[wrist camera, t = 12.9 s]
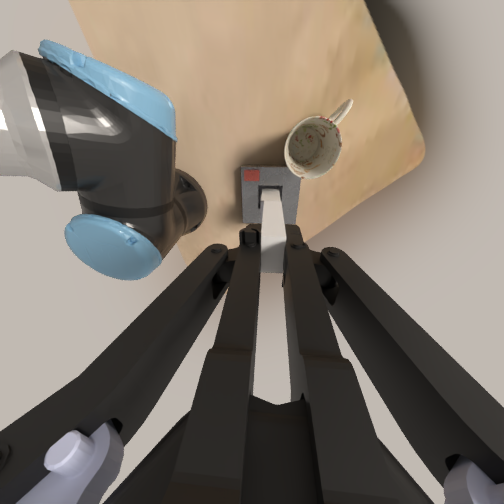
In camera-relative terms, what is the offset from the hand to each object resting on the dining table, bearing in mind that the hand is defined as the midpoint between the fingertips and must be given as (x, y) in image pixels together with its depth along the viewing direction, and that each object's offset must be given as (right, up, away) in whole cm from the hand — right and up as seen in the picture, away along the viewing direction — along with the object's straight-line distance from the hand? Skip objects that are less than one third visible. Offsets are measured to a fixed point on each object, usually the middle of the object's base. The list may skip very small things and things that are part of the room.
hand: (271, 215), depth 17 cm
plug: (+2, +9, +25) cm, 27 cm away
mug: (+9, +19, +19) cm, 28 cm away
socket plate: (+2, +9, +25) cm, 27 cm away
